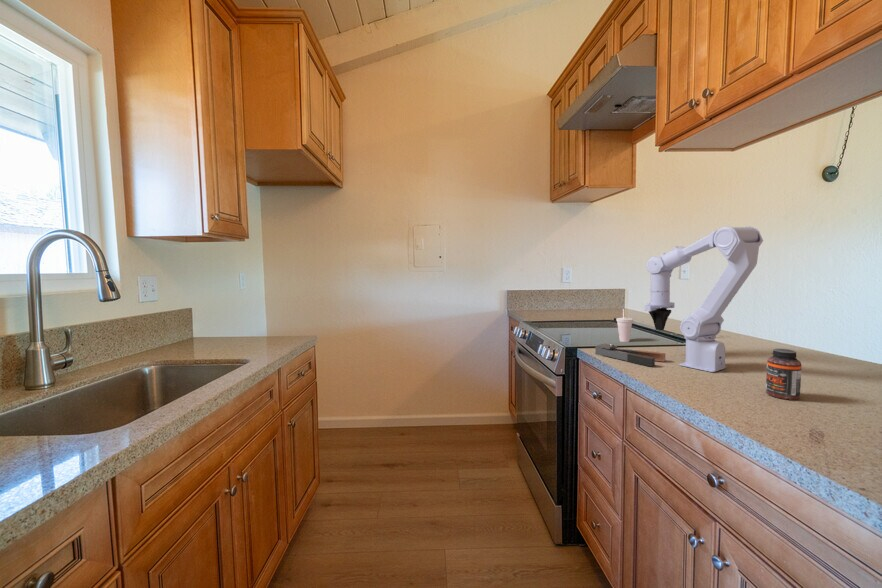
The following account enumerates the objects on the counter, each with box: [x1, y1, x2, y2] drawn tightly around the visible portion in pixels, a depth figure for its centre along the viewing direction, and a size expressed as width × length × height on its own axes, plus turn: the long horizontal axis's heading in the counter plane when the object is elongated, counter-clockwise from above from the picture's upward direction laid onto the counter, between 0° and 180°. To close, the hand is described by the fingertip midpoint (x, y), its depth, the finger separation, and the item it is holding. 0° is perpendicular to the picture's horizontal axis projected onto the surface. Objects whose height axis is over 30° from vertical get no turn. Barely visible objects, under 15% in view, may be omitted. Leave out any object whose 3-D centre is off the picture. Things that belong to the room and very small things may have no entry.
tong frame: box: [594, 343, 656, 368], centre depth 120 cm, size 21×5×4 cm, turn 28°
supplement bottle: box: [765, 348, 803, 401], centre depth 83 cm, size 6×6×11 cm
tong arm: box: [612, 347, 666, 363], centre depth 121 cm, size 18×3×2 cm, turn 50°
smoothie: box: [615, 308, 634, 343], centre depth 148 cm, size 6×6×14 cm
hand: (659, 329), depth 122 cm, fingers closed
